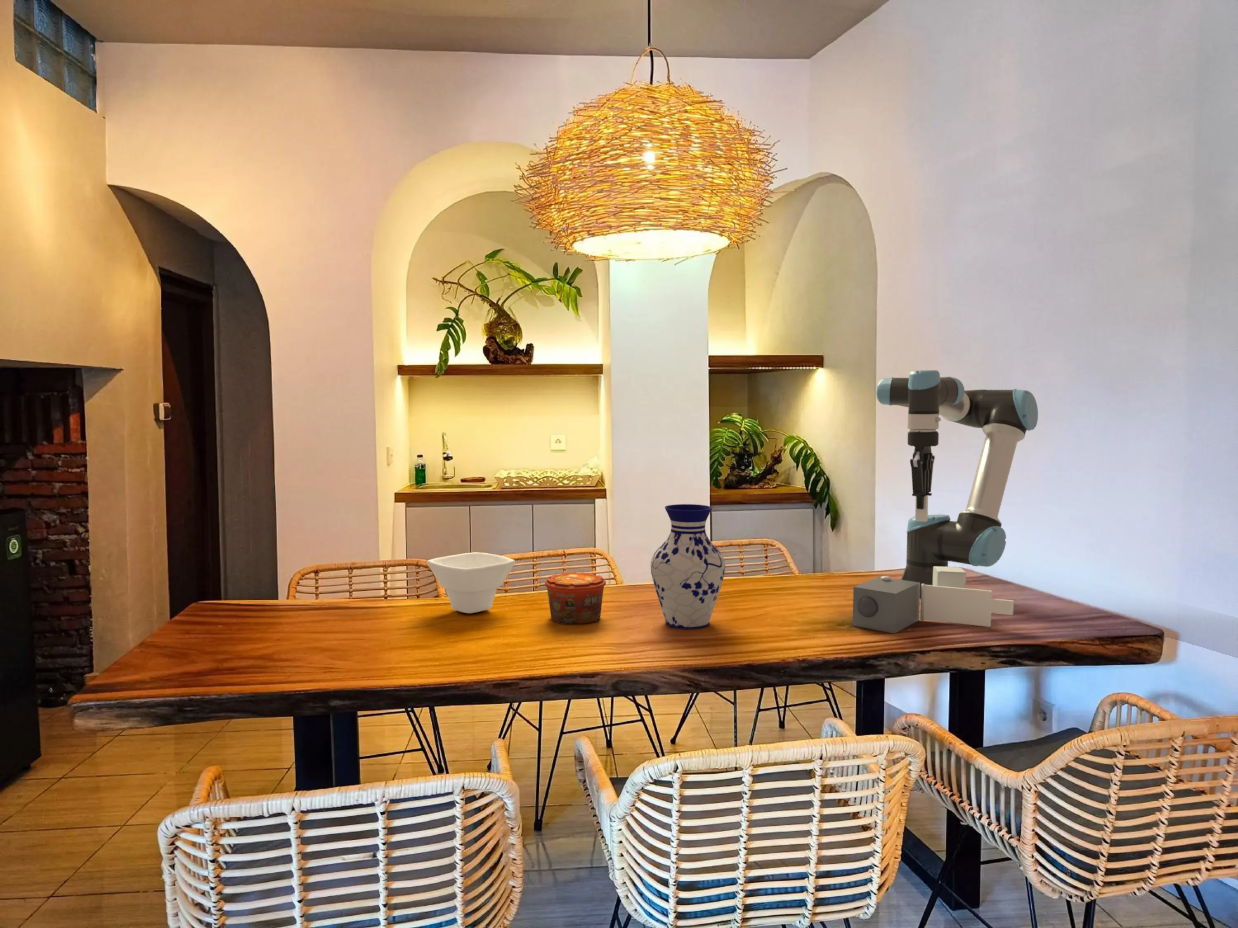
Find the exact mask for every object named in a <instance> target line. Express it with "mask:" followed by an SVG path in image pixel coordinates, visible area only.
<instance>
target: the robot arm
mask: <svg viewBox="0 0 1238 928" xmlns="http://www.w3.org/2000/svg"><path fill="white" fill-rule="evenodd" d="M908 375H909V376H908V377H893V376H892V377H885V378H882V379H880V380H879V382H878V383H877V385H876V391H875V394H876V399H877V400H878V402H879V403H880V404H882V405H886V406H901V407H905V408H908V411H907V429H908V430H909V431H908V432H907V445H908V446H910V447H914V450H913V453H912V458H911V459H909V463H910V468H911V484H912V494H911V496H912V497H915V511H914V512H915V513H914V514H915V516H912V517H910V518H909V519H908V522H907V529H906V562H905V563H906V564H905V568H904V571H903V573H902V575H901V578H900V580H906V581H913V582H919V583H920V598H921V585H922V584H926V585H933V567H934V566H940V567H949V562H952V563H958V564H962V565H963V564H964V565H971V566H973V567H984V568H986V567H993V566H994V565H995V564H997V562H998V561H999V560H1000V559H1001V558H1002V556H1003V554H1004V552H1005V548H1006V545H1007V544H1006V543H1007V542H1006V541H1007V540H1006V539H1007V533H1006V532H1005V529H1004V528H1003V527H1002V525H1003V524H1002V522H1001V520H1000V519H999V513H1000V510H1001V506H1002V502H1003V498H1004V494H1005V490H1006V486H1007V483H1008V479H1009V476H1010V475H1009V474H1010V472H1011V468H1012V464H1013V460H1014V455H1015V451H1016V448H1017V444H1018V442H1020V441H1023V440H1024V439H1025V437H1026V432H1027V431H1028V432H1030V431H1033V430H1035V428H1036V426H1037V424H1038V419H1039V412H1038V411H1039V409H1038V403H1037V401H1036V398H1035V395H1034V394H1033V393H1032V392H1031V391H1029V390H1026V389H1017V388H1014V389H970V390H965V387H964V384H963V383H962V381H961V380H960V379H958V378H956V377H954V376H953V377H952V376H944V377H943V376H942V377H941V375H940V371H939V370H935V369H933V370H931V369H929V370H928V369H927V370H911V371H910V372H909V374H908ZM940 416H941V417H942V418H943V419H945V420H946V421H947V422H952V423H956V424H959V425H963V426H966V427H972V428H977V429H981V431H982V432H983V433H984V435H985V438H984V442H983V446H982V449H981V453H980V458H979V460H978V464H977V467H976V472H975V475H974V480H973V482H972V486H971V490H970V494H969V497H968V501H967V505H966V507H965V510H963V511H960V512H959V513H958V516H957V519H956V520H955V521H954V520H953V521H952V520H951V516H950V515H949V514H929V496H930V497H931V496H932V495H933V494H932V481H933V472H934V464H935V463H934V462H935V459H936V457H935V454H934V455H933V452H932V447H936V446H937V447H938V445H939V440H940V439H939V438H940V437H939V436H940V435H939V432H938V431H937V430H938V429H939V427H940V426H939V425H940V424H939V423H940V422H941V421H942V419H941V417H940Z"/></svg>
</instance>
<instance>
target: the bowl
mask: <svg viewBox="0 0 1238 928" xmlns="http://www.w3.org/2000/svg"><path fill="white" fill-rule="evenodd" d="M426 563H427V565H428V567H429V569H430V570H431V572H432V573H433V575H434V577H435V578H436V580H437V581H438V583H439V585H440V586H441V587H442V588H445V591H446V594H447V597H448V600H449V603H450V606H451V608H452V609H453V610H454V611H456V612H457V611H458V612H459V613H465V614H474V613H479V612H482V611H483V612H484V611H487V610H490V609H492V607H493V604H494V600H495V597H496V593H497V589H498V588H499V587H501V586H503V584H504V583H505V581H506V579H507V577H508V576H509V575H510V572H511V570H512V568H513V567H514V565H515V564H516V561H515V559H512V558H509V557H507V556H503V555H498V554H495V553H494V554H492V553H487V552H479V551H478V552H477V551H475V552H468V553H467V552H465V553H459V554H453V555H446V556H440V557H435V558H431V559H428V560H427V561H426Z"/></svg>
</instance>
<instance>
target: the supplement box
mask: <svg viewBox="0 0 1238 928" xmlns="http://www.w3.org/2000/svg"><path fill="white" fill-rule="evenodd" d="M933 585H934V586H945V587H956V588H967V586H966V585H967V572H966V570H964V569H963V568H962V567H961V566H948V567H940V566H934V567H933Z"/></svg>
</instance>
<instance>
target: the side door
mask: <svg viewBox="0 0 1238 928" xmlns="http://www.w3.org/2000/svg"><path fill="white" fill-rule="evenodd" d="M1014 602H1015V601H1014V599H1013V600H1011V599H1001V598H993V590H991V589H990V590H988V589H977V588H968V587H966V588H956V587H945V586H934V585H926V584H922V585H921V597H920V613H919V620H920V621H933V622H942V623H950V624H963V625H973V626H979V627H980V626H983V627H990V628H991V626H992V614H998V615H1008V616H1013V615H1014V607H1015V606H1014V605H1015V604H1014Z"/></svg>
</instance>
